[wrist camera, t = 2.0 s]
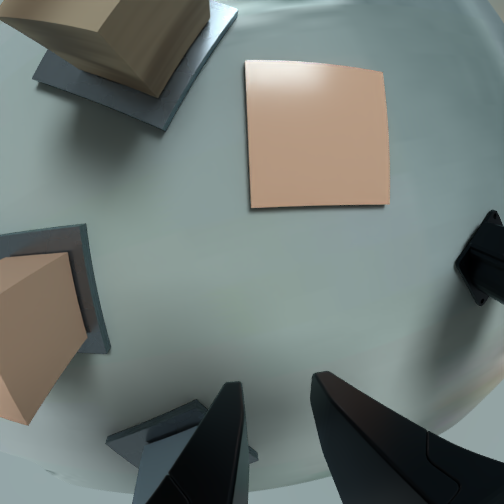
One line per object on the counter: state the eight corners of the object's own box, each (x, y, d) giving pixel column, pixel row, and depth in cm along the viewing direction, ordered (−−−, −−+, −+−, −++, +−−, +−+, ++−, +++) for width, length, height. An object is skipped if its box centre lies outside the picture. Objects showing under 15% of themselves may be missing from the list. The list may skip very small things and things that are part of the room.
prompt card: (378, 74, 16) (382, 72, 16) (385, 203, 19) (389, 204, 18) (244, 63, 16) (244, 60, 15) (250, 206, 18) (251, 208, 17)
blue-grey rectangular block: (197, 425, 20) (192, 522, 12) (239, 459, 22) (248, 543, 13) (144, 445, 21) (127, 529, 12) (188, 477, 22) (184, 552, 14)
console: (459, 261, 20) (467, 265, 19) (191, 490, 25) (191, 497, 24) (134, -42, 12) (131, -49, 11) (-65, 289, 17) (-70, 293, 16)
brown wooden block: (210, 17, 13) (204, -83, 5) (157, 98, 15) (97, 32, 6) (130, -6, 12) (84, -88, 4) (79, 69, 13) (-7, 16, 5)
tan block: (67, 252, 16) (-25, 310, 8) (87, 337, 18) (28, 425, 9) (5, 257, 16) (-81, 304, 7) (25, 333, 17) (-39, 401, 9)
